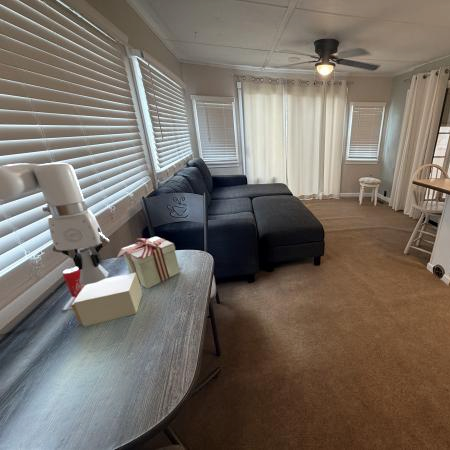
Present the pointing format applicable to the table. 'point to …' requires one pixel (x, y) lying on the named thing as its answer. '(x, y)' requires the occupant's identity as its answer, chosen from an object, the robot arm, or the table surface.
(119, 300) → the cabinet
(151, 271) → the gift box
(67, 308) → the drawer
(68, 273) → the beverage can
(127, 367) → the table surface
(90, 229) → the robot arm
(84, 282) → the flask
